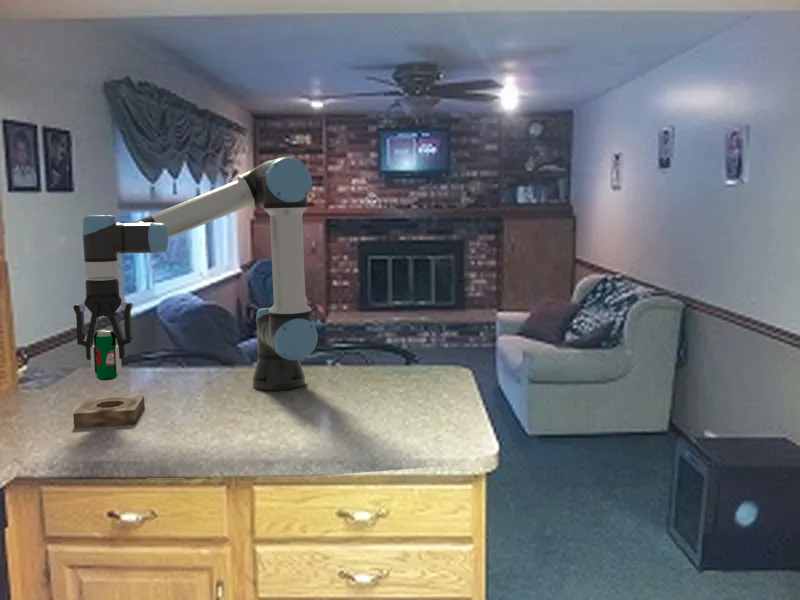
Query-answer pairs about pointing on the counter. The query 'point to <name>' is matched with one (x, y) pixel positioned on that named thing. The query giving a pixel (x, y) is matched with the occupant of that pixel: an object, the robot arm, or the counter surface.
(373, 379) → the counter surface
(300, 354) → the robot arm
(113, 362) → the soda can
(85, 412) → the board
